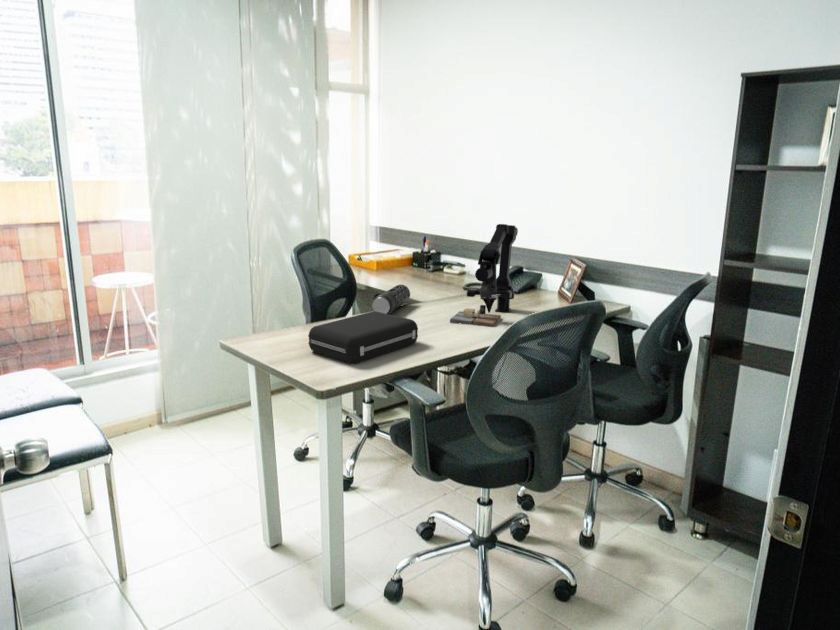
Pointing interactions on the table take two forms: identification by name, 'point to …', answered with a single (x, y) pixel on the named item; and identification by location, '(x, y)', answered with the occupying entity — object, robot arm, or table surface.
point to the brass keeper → (470, 313)
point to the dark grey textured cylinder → (391, 299)
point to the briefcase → (362, 336)
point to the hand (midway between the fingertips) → (489, 312)
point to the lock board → (487, 321)
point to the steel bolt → (482, 312)
